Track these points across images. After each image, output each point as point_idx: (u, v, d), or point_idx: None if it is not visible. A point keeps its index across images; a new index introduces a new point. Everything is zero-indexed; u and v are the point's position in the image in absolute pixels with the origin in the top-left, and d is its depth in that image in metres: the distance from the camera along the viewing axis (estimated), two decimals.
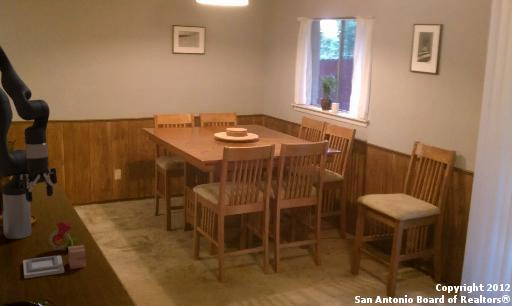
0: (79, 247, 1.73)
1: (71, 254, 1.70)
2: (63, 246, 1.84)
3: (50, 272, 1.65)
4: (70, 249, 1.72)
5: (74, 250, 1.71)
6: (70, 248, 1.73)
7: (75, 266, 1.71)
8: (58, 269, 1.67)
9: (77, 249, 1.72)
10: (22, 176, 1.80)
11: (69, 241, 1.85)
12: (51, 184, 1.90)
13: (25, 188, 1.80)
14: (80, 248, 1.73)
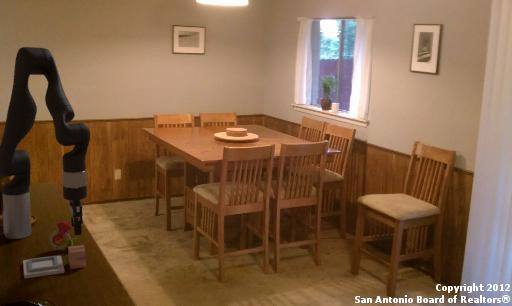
0: (79, 247, 1.73)
1: (71, 254, 1.70)
2: (63, 246, 1.84)
3: (50, 272, 1.65)
4: (70, 249, 1.72)
5: (74, 250, 1.71)
6: (70, 248, 1.73)
7: (75, 266, 1.71)
8: (58, 269, 1.67)
9: (77, 249, 1.72)
10: (79, 208, 1.63)
11: (69, 241, 1.85)
12: None
13: None
14: (80, 248, 1.73)
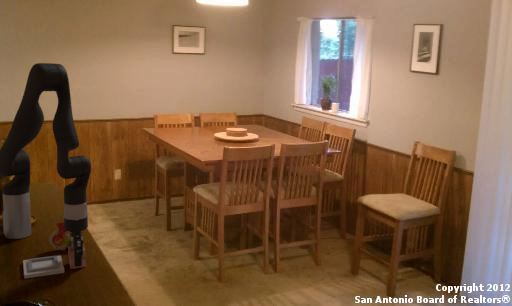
0: None
1: (71, 254, 1.70)
2: (63, 246, 1.84)
3: (50, 272, 1.65)
4: (70, 249, 1.72)
5: None
6: (70, 247, 1.73)
7: (75, 266, 1.71)
8: (58, 269, 1.67)
9: None
10: (80, 243, 1.66)
11: (69, 241, 1.85)
12: None
13: (82, 252, 1.68)
14: None
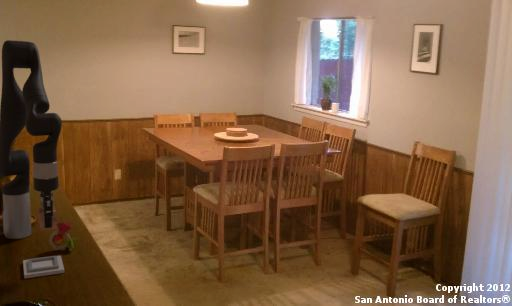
0: None
1: (41, 215, 1.64)
2: (63, 246, 1.84)
3: (50, 272, 1.65)
4: (40, 210, 1.66)
5: None
6: (41, 209, 1.67)
7: (45, 228, 1.65)
8: (58, 269, 1.67)
9: None
10: (50, 203, 1.60)
11: (69, 241, 1.85)
12: None
13: (52, 213, 1.63)
14: None
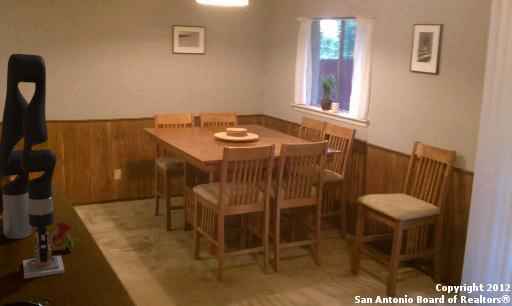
0: (45, 246, 1.70)
1: (36, 253, 1.66)
2: (63, 246, 1.84)
3: (50, 272, 1.65)
4: (36, 248, 1.68)
5: None
6: (36, 247, 1.69)
7: (41, 266, 1.67)
8: (58, 269, 1.67)
9: None
10: (44, 236, 1.62)
11: (69, 241, 1.85)
12: None
13: (47, 248, 1.63)
14: None
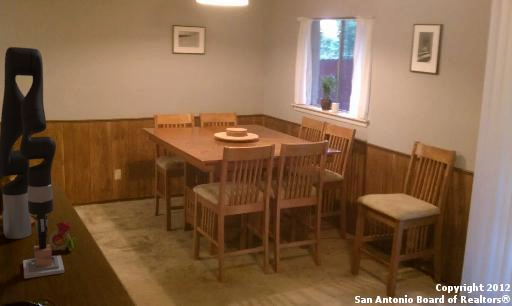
0: None
1: (36, 253, 1.66)
2: (63, 246, 1.84)
3: (50, 272, 1.65)
4: (36, 248, 1.68)
5: (40, 249, 1.67)
6: (36, 247, 1.69)
7: (41, 266, 1.67)
8: (58, 269, 1.67)
9: None
10: (44, 229, 1.62)
11: (69, 241, 1.85)
12: None
13: None
14: (46, 247, 1.69)
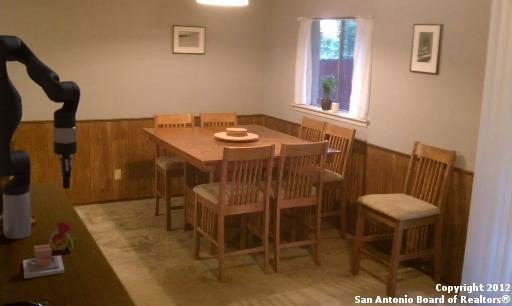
0: (45, 246, 1.70)
1: (36, 253, 1.66)
2: (63, 246, 1.84)
3: (50, 272, 1.65)
4: (36, 248, 1.68)
5: (40, 249, 1.67)
6: (36, 247, 1.69)
7: (41, 266, 1.67)
8: (58, 269, 1.67)
9: (43, 248, 1.68)
10: (68, 169, 1.72)
11: (69, 241, 1.85)
12: None
13: None
14: (46, 247, 1.69)
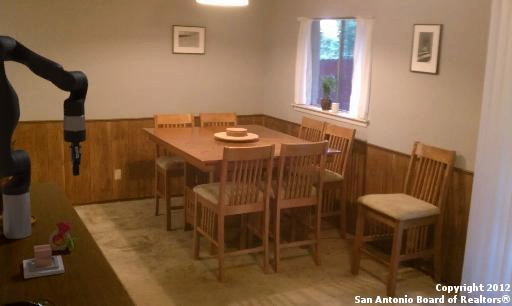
0: (45, 246, 1.70)
1: (36, 253, 1.66)
2: (63, 246, 1.84)
3: (50, 272, 1.65)
4: (36, 248, 1.68)
5: (40, 249, 1.67)
6: (36, 247, 1.69)
7: (41, 266, 1.67)
8: (58, 269, 1.67)
9: (43, 248, 1.68)
10: (79, 155, 1.78)
11: (69, 241, 1.85)
12: None
13: None
14: (46, 247, 1.69)
